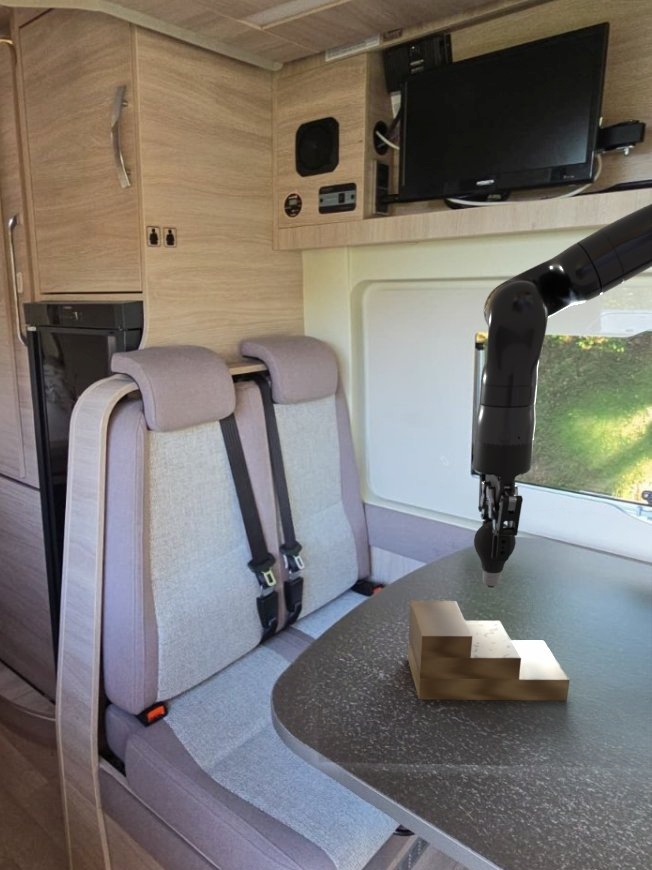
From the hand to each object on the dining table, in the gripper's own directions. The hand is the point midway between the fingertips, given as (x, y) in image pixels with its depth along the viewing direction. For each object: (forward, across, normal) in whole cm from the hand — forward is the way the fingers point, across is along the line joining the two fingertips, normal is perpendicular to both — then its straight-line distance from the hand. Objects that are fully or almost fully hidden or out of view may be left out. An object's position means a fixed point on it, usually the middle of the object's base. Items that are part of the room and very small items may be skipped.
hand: (494, 551), depth 104 cm
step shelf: (+21, 0, 0) cm, 21 cm away
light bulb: (+6, 0, 0) cm, 6 cm away
